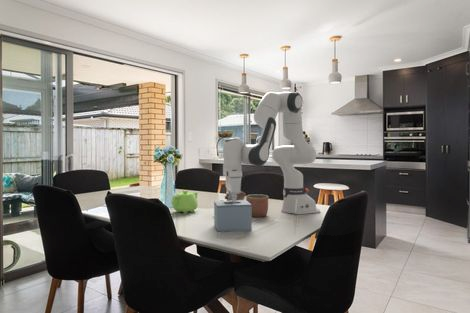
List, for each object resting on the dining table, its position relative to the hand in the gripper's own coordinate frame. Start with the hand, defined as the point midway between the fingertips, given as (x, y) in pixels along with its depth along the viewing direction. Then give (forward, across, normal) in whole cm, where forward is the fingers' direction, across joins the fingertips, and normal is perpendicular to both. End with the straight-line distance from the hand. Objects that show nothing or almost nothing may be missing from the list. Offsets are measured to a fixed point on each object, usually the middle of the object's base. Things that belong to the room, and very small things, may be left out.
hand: (232, 200), depth 152 cm
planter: (+13, -22, +18) cm, 31 cm away
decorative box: (+13, -50, +10) cm, 52 cm away
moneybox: (+13, 0, 0) cm, 13 cm away
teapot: (+13, -40, -21) cm, 47 cm away
